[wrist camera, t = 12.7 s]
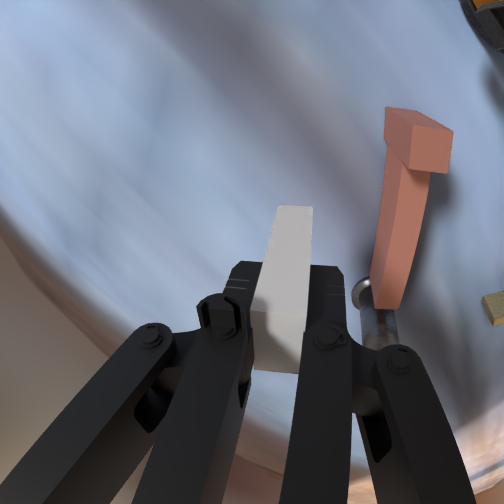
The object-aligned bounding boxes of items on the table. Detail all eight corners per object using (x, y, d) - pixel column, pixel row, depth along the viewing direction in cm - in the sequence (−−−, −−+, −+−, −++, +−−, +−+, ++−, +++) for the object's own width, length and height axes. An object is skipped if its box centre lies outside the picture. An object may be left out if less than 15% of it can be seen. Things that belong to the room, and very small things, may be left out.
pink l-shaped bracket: (366, 272, 24) (374, 327, 19) (385, 107, 17) (412, 124, 12) (391, 273, 23) (404, 327, 19) (416, 110, 16) (453, 131, 11)
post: (348, 279, 25) (353, 356, 19) (394, 271, 24) (412, 347, 17) (354, 312, 27) (357, 387, 20) (396, 306, 26) (409, 379, 19)
